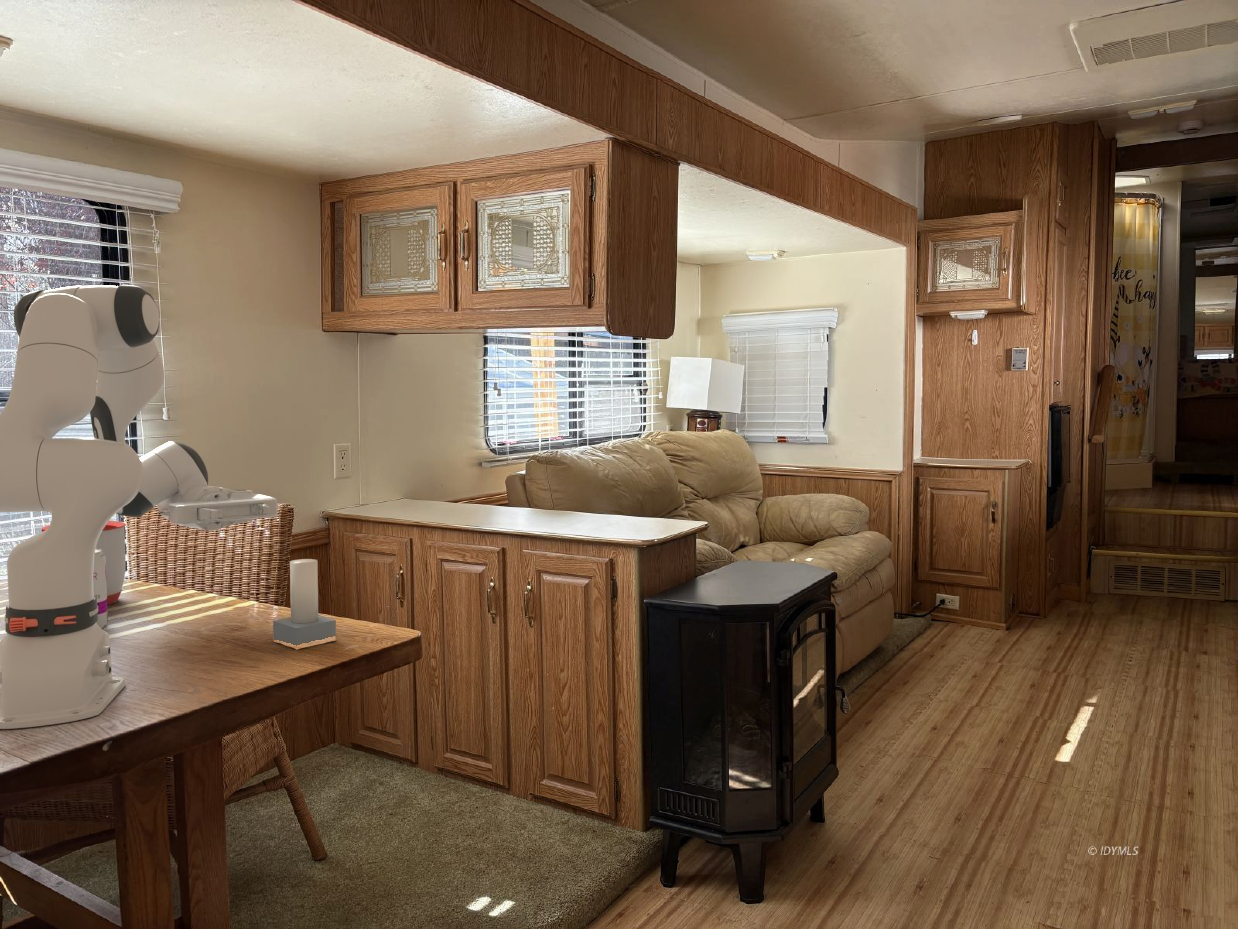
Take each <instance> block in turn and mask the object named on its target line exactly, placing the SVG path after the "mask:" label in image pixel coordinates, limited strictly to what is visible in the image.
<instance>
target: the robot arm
mask: <svg viewBox="0 0 1238 929" xmlns="http://www.w3.org/2000/svg"><path fill="white" fill-rule="evenodd" d="M157 306H158V305H157V304H156V301H155V299H154V297H153V296H152V294H151V293H149V292H148V291H147V290H145V289H144V288H143V287H141V286H138V285H131V284H120V285H119V286H118V285H117V286H116V285H83V284H82V285H72V286H65V287H59V288H55V289H54V288H53V289H48V290H46V289H38V290H34V291H30V292H28V293H25V294H24V295H22V296H21V297H20V298H19V300H18V301H17V302H16V304H15V306H14V308H13V324H14V327H15V331H16V333H17V336H18V337H19V339H18V342H17V343H18V345H17V350H16V359H15V366H14V373H13V379H12V384H11V389H10V393H9V396H8V399H7V401H6V403H5V405H4V407H3V409H2V410H1V412H0V513H23V512H24V513H29V512H47V513H51V521H50V524H49V525H50V527H49V528H48V529H47V530H45V531H43V532H42V531H41V532H39V533H37V534H34V535H32V536H31V537H29V538H27V539H25V540H23V541H21V542H20V543H18V544H17V545H15V547H14V548H13V549H12V550H10V553H9V554H8V558H7V561H6V570H7V571H6V572H7V592H8V604H7V605H6V607H5V614H4V622H5V624H4V625H5V626H4V628H5V629H4V630H5V633H6V635H5V636H4V637H3V638H2V639H0V730H9V729H11V730H12V729H25V728H32V727H42V726H50V725H57V724H64V723H69V722H75V721H79V720H80V721H81V720H84V719H88V718H92V717H95V716H98V715H100V714H101V713H102V712H103V711H104V710H105V709H106V708H107V706H109V704H110V703H111V702H112V701H113V700H114V698H116V696H118V694H119V693H120V692H121V691H122V690H123V688H124V687H126V679H125V678H124V677H121V676H113V669H112V668H113V667H112V666H113V665H112V655H111V654H112V652H111V642H110V634H109V632H107V631H105V630H103V628H100V627H99V626H98V625H97V623H96V622H97V621H98V605H97V599H96V598H95V597H94V592H93V572H94V555H95V548H96V544H97V541H98V539H99V536H100V534H101V532H102V530H103V528H104V527H105V525H106V524H107V523H108V521H111V519H112V517H113V516H115V515H119V516H122V517H123V516H124V517H129V518H142V516H144V515H145V514H147V513H148V512H149V511H151V510H152V509H154V507H155V506H156V507H157V511H158V512H159V514H160V515H161V516H162V517H163V518H164V519H166V520H168V521H169V523H172V524H175V525H178V526H181V527H186V528H193V529H197V530H204V531H209V532H210V531H211V532H214V531H218V530H221V529H224V528H228V527H230V526H232V525H237V524H241V523H242V524H243V523H248V522H253V520H255V519H264V518H265V519H266V518H267V519H268V518H275V517H276V516H278V512H279V507H278V506H279V505H278V500H277V498H276V497H274V496H268V495H265V494H259V493H253V492H254V491H253V490H250V489H232V488H231V489H230V488H225V487H221V486H214V485H208V484H209V473H208V470H207V466H206V464H205V462H204V461H203V459H202V457H201V456H200V455H199V453H198V452H197V451H196V450H195V449H194V448H192V447H191V446H189V445H187V444H184V443H182V442H179V441H175V440H168V441H167V442H165V443H163V444H162V445H159V446H157V447H156V448H154V449H152V450H150V451H148V452H147V453H145V454H144V455H142V456H139V455H138V453H137V452H136V450H134V448H132V447H131V445H129V444H128V443H127V442H126V432H127V430H128V428H129V426H130V424H131V423H132V421H133V420H134V419H135V418H136V417H137V415H138V414H139V413H140V412H141V411H142V410H143V409H144V408H145V407H146V406H147V405H149V403H150V402H151V401H153V399H154V398H155V397H157V394H158V393H160V390H161V388H162V386H163V384H164V381H165V370H164V364H163V360H162V357H161V355H160V353H159V350H158V347H157V344H156V342H155V337H156V336H157V335H158V334H159V328H160V314H159V310H158V307H157ZM88 415H89V416H90V423H91V427H92V433H93V437H89V438H88V437H84V438H83V437H82V438H81V437H78V438H77V437H76V438H75V437H70V438H69V437H68V438H65V437H64V438H63V437H61V438H54V437H55V436H56V435H57V434H58V433H59V432H60V431H62V430H63V429H66V428H68V427H69V426H72V425H74V424H76V423H79V422H80V421H82V420H83V419H85V418H86V417H87V416H88Z"/></svg>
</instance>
